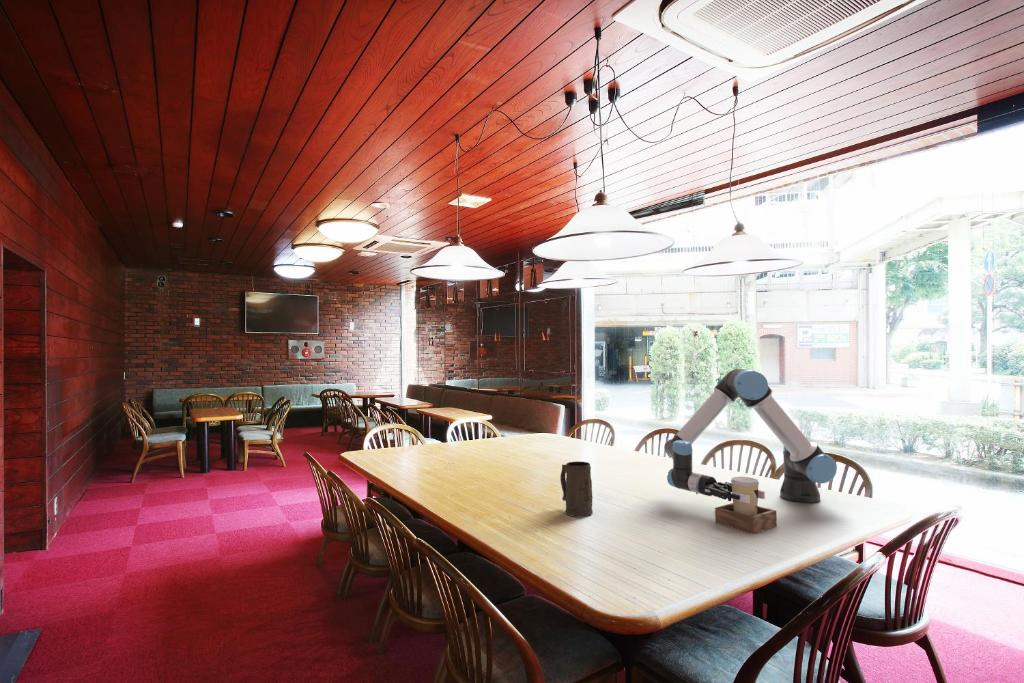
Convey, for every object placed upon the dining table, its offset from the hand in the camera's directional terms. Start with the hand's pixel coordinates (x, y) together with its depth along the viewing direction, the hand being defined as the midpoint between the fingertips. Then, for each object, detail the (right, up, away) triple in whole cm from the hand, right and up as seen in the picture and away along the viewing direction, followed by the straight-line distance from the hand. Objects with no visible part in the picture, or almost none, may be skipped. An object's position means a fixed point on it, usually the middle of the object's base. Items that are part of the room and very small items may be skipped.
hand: (756, 497), depth 188 cm
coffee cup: (-2, -7, +4) cm, 8 cm away
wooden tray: (-2, -11, +4) cm, 12 cm away
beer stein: (-63, -12, +21) cm, 68 cm away
